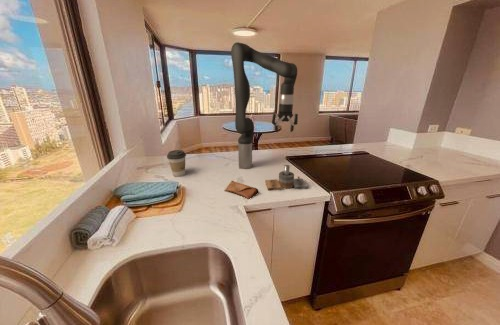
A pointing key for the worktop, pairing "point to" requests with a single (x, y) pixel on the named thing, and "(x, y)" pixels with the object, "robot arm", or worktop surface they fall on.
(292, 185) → the hinge leaves
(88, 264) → the worktop surface
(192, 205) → the worktop surface
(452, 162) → the worktop surface
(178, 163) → the coffee cup
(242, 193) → the sunglasses case
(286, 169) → the hinge pin
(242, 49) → the robot arm
